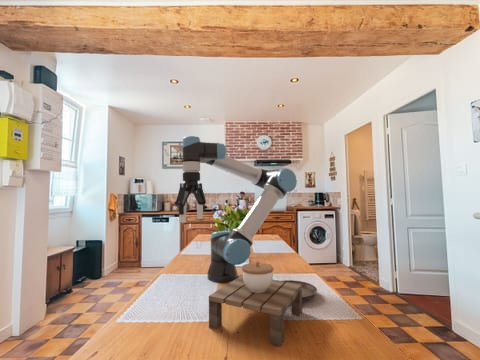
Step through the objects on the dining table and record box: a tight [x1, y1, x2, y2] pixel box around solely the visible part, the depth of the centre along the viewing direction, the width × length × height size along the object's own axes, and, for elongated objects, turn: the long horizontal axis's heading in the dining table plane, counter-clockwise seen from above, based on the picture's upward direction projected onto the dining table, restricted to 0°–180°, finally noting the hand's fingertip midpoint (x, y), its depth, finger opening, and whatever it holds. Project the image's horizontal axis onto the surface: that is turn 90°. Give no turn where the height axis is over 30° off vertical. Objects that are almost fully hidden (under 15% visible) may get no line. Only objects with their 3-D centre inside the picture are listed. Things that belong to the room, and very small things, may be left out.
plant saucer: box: [283, 279, 318, 303], centre depth 113 cm, size 21×21×3 cm
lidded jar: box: [241, 261, 274, 293], centre depth 92 cm, size 11×11×9 cm
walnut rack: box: [208, 274, 303, 347], centre depth 92 cm, size 24×24×10 cm
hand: (191, 220), depth 117 cm, fingers open, 13 cm apart
